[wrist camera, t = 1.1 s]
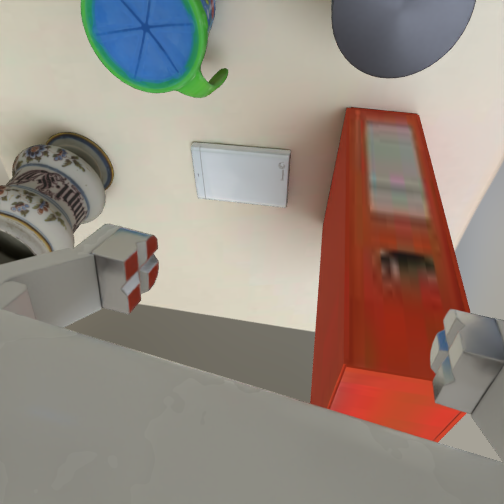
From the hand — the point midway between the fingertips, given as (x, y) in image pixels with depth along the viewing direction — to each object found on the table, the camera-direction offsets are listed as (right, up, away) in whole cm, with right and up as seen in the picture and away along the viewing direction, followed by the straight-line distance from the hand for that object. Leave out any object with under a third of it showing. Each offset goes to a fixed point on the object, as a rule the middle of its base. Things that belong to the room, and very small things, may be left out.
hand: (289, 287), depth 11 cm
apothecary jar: (-25, +14, +46) cm, 54 cm away
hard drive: (-2, +12, +42) cm, 44 cm away
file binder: (+13, +11, +39) cm, 42 cm away
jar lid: (+9, +17, +15) cm, 24 cm away
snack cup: (-8, +26, +29) cm, 40 cm away
